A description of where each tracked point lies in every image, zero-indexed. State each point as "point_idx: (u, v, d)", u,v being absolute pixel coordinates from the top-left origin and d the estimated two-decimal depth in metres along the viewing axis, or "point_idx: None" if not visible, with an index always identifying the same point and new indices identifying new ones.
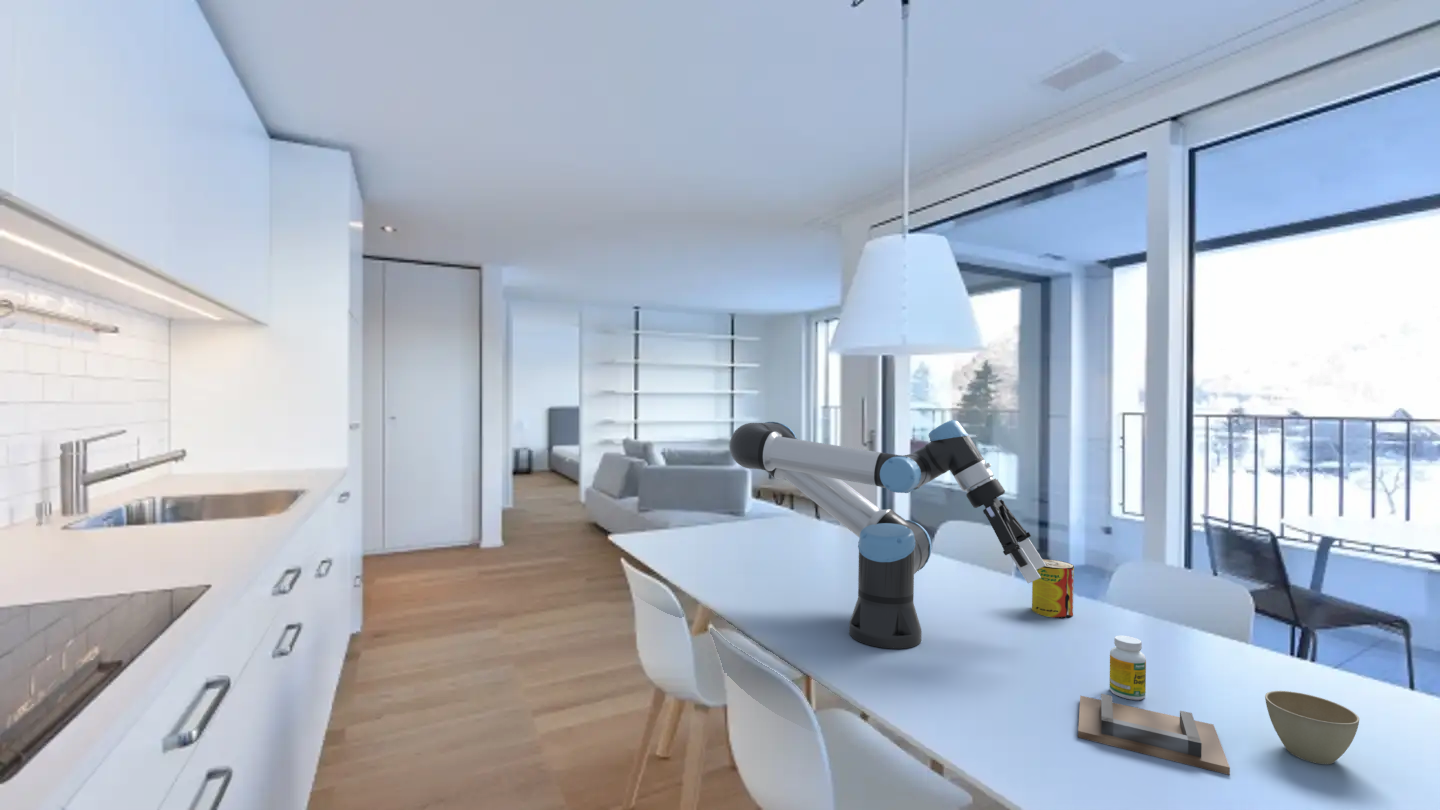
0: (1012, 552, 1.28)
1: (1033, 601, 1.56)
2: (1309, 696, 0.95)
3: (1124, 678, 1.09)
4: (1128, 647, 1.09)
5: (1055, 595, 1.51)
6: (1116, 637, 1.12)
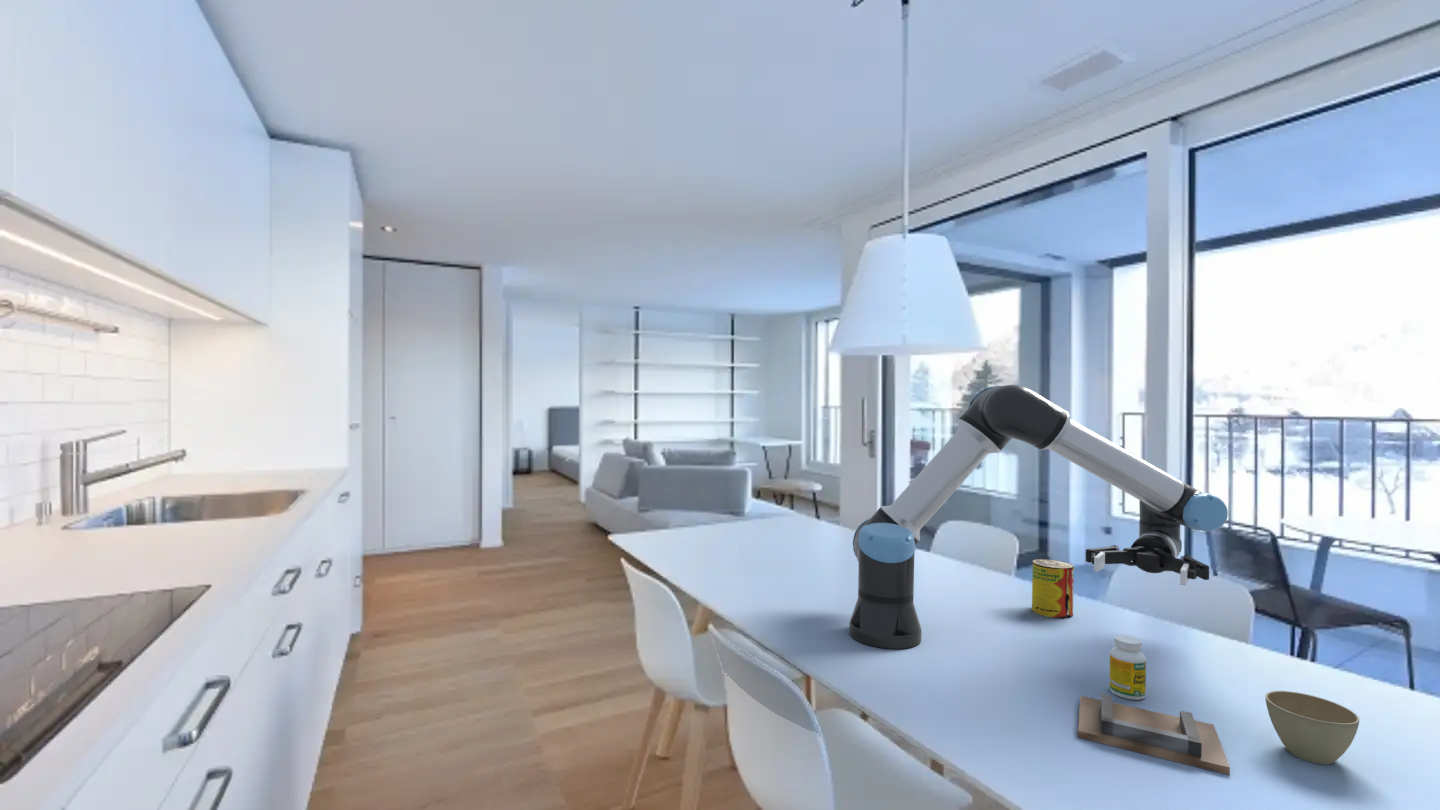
0: (1197, 570, 1.17)
1: (1033, 601, 1.56)
2: (1309, 696, 0.95)
3: (1123, 678, 1.09)
4: (1128, 647, 1.09)
5: (1055, 595, 1.51)
6: (1116, 637, 1.12)
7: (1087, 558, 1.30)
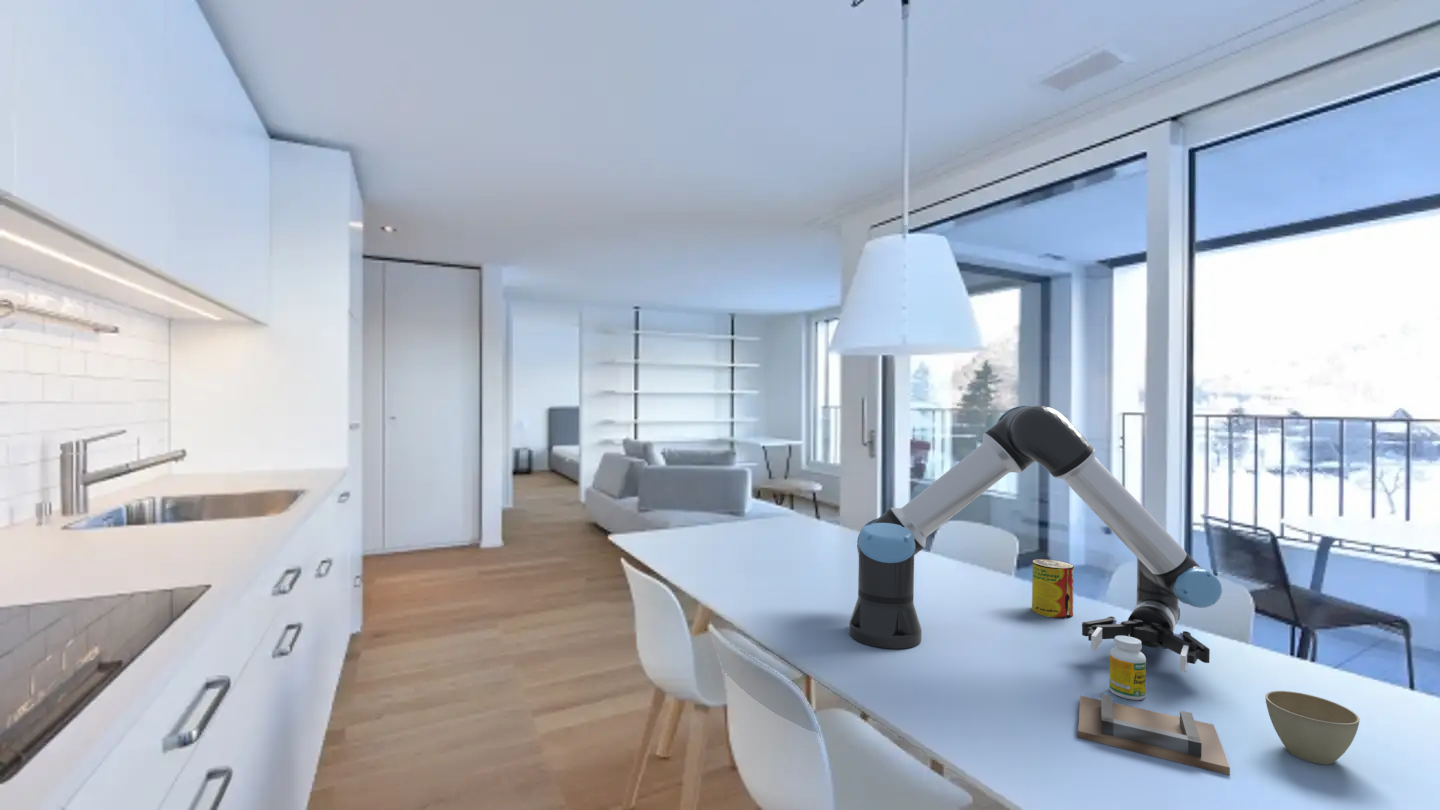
0: (1197, 653, 1.14)
1: (1033, 601, 1.56)
2: (1309, 696, 0.95)
3: (1124, 678, 1.09)
4: (1128, 647, 1.09)
5: (1055, 595, 1.51)
6: (1116, 637, 1.12)
7: (1084, 632, 1.26)
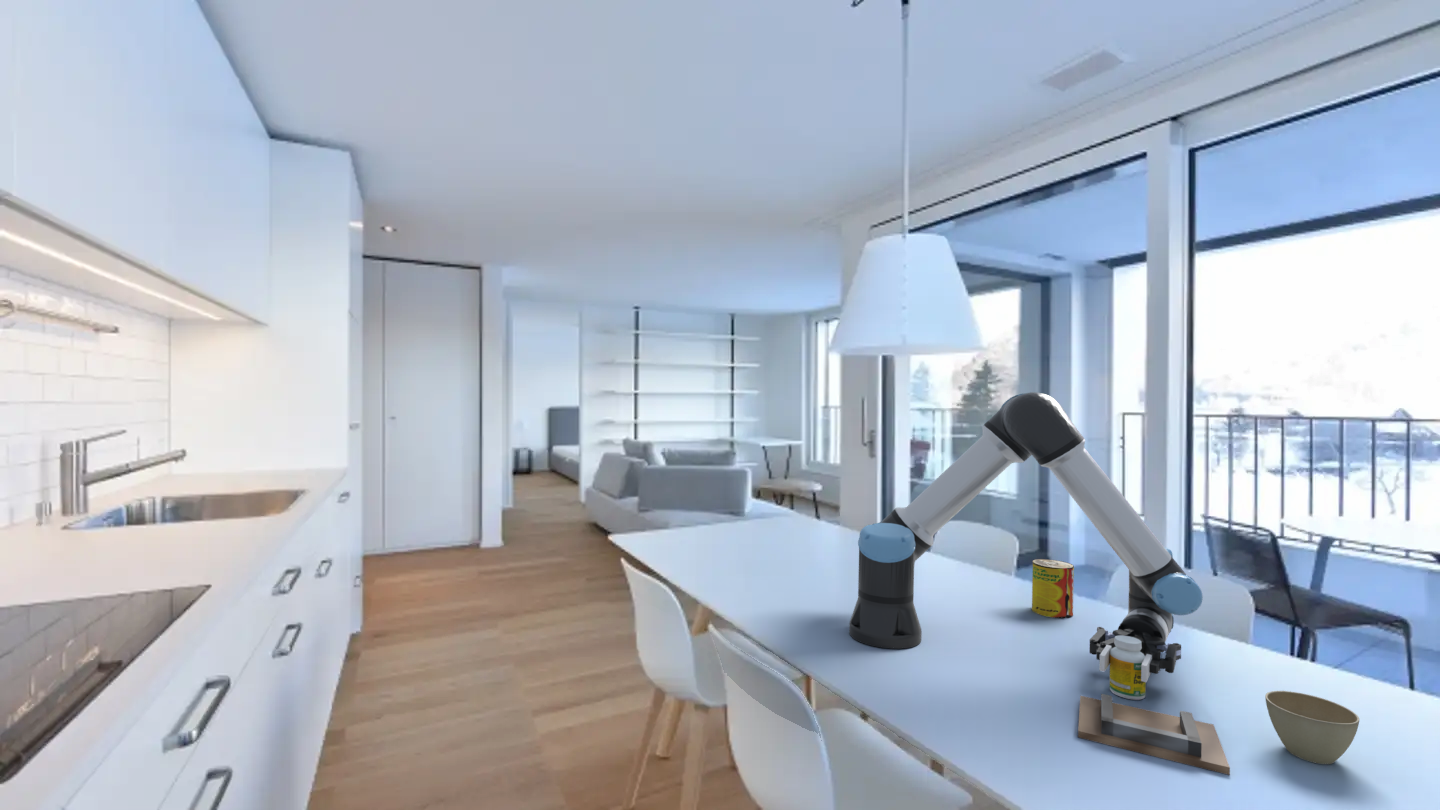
0: (1161, 662, 1.09)
1: (1033, 601, 1.56)
2: (1309, 696, 0.95)
3: (1123, 677, 1.09)
4: (1128, 647, 1.09)
5: (1055, 595, 1.51)
6: (1116, 637, 1.12)
7: (1091, 650, 1.16)
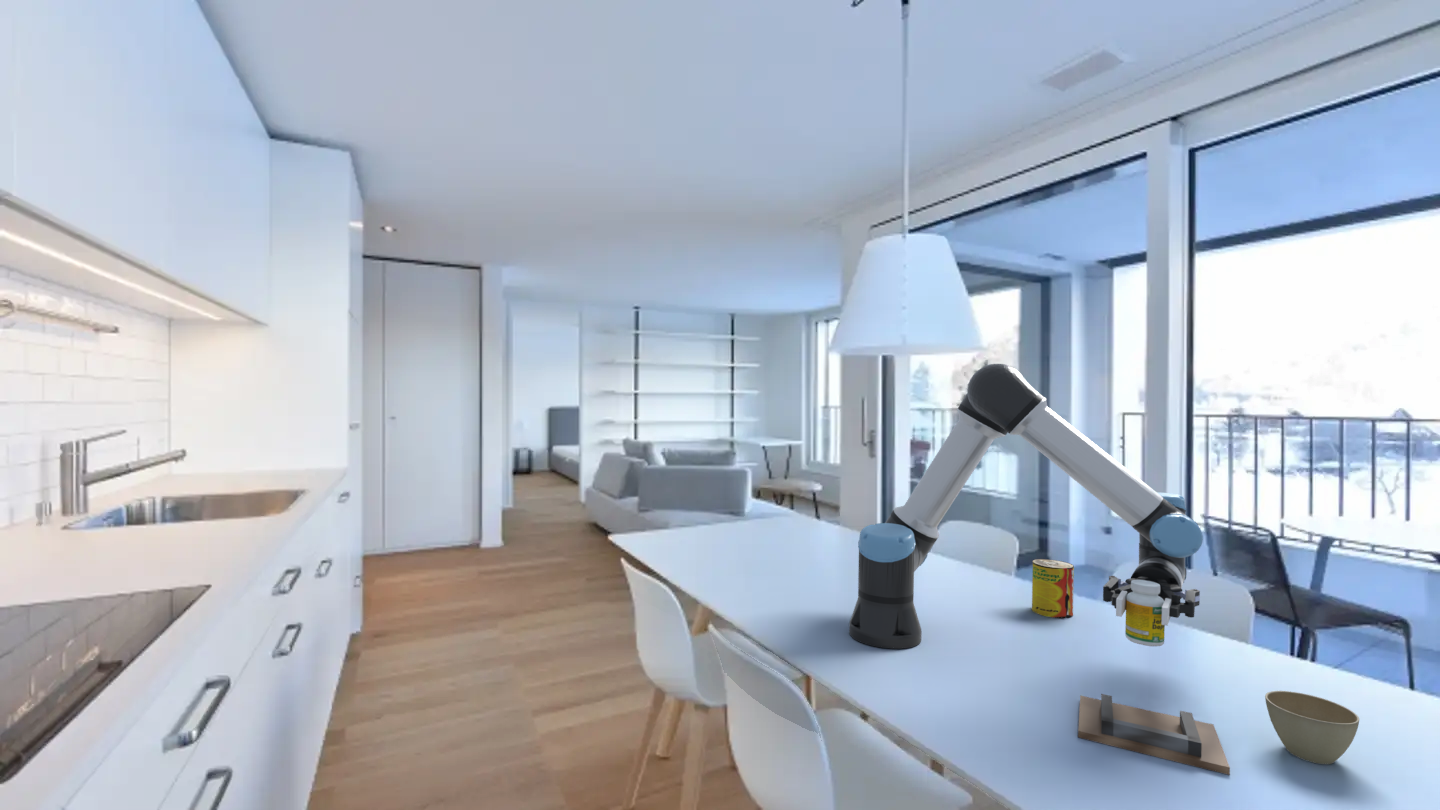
0: (1181, 606, 1.02)
1: (1033, 601, 1.56)
2: (1309, 696, 0.95)
3: (1141, 623, 1.02)
4: (1146, 591, 1.02)
5: (1055, 595, 1.51)
6: (1133, 581, 1.04)
7: (1105, 597, 1.09)
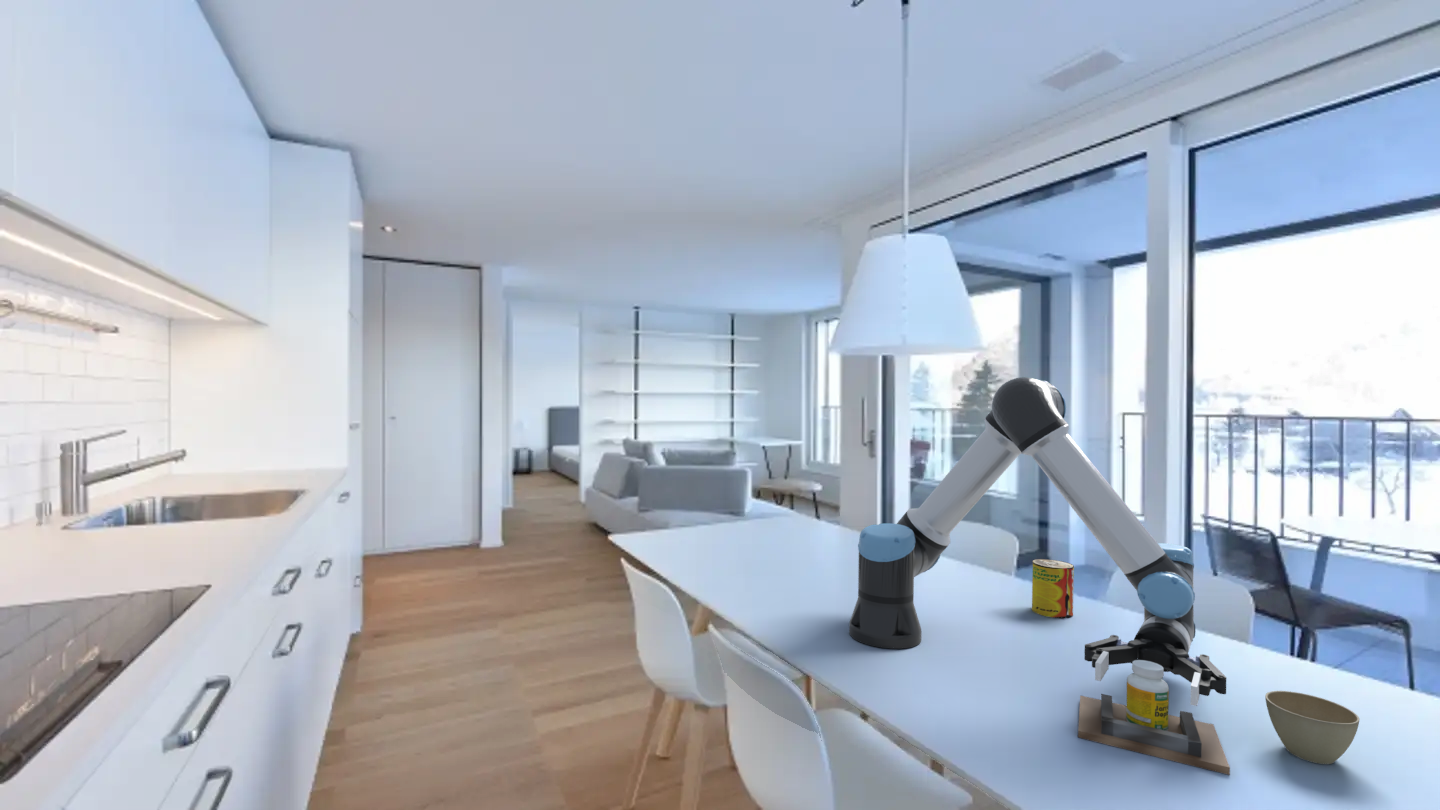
0: (1211, 682, 0.94)
1: (1033, 601, 1.56)
2: (1309, 696, 0.95)
3: (1143, 709, 0.95)
4: (1148, 674, 0.95)
5: (1055, 595, 1.51)
6: (1134, 662, 0.98)
7: (1086, 656, 1.05)
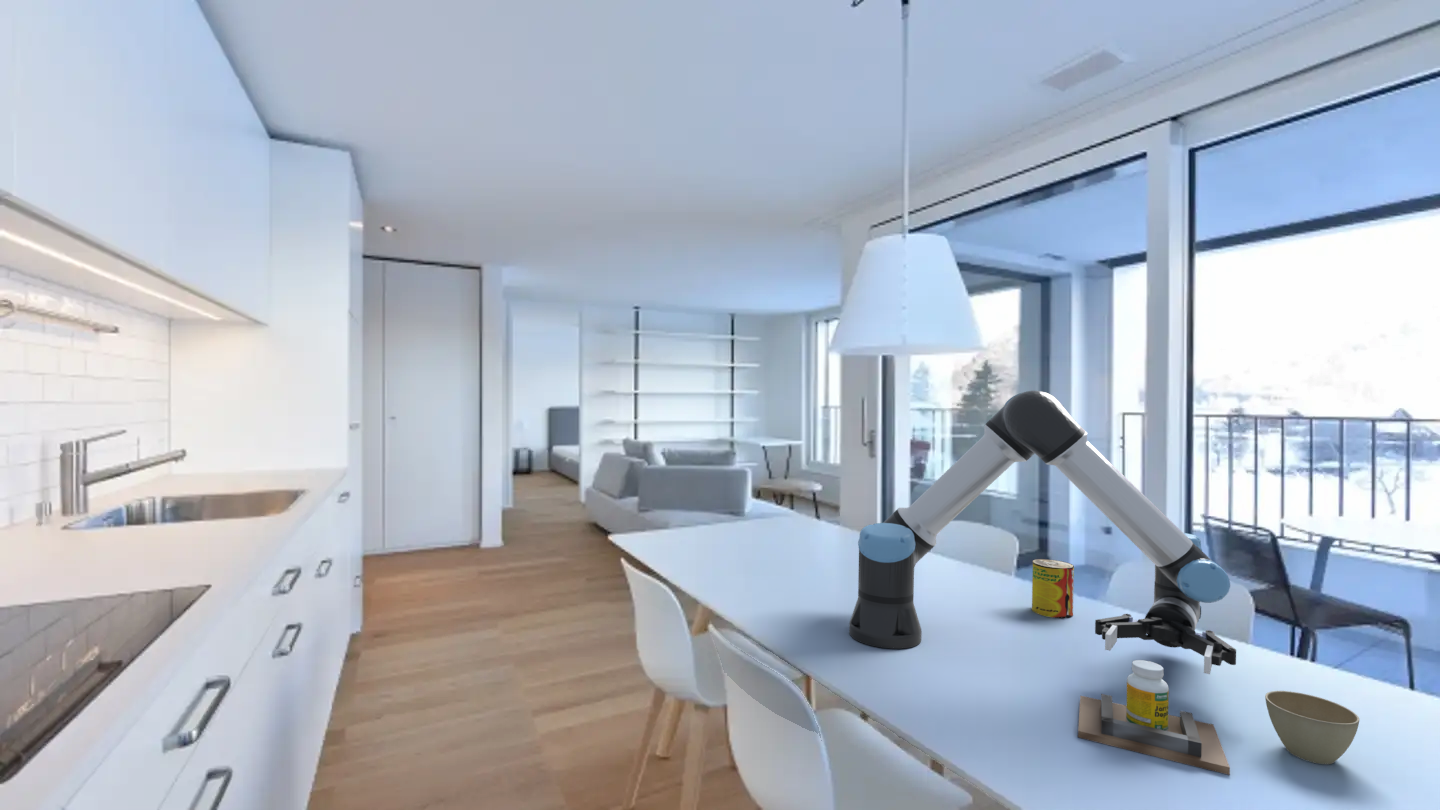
0: (1223, 654, 1.04)
1: (1033, 601, 1.56)
2: (1309, 696, 0.95)
3: (1143, 709, 0.95)
4: (1148, 675, 0.95)
5: (1055, 595, 1.51)
6: (1134, 662, 0.98)
7: (1097, 630, 1.16)
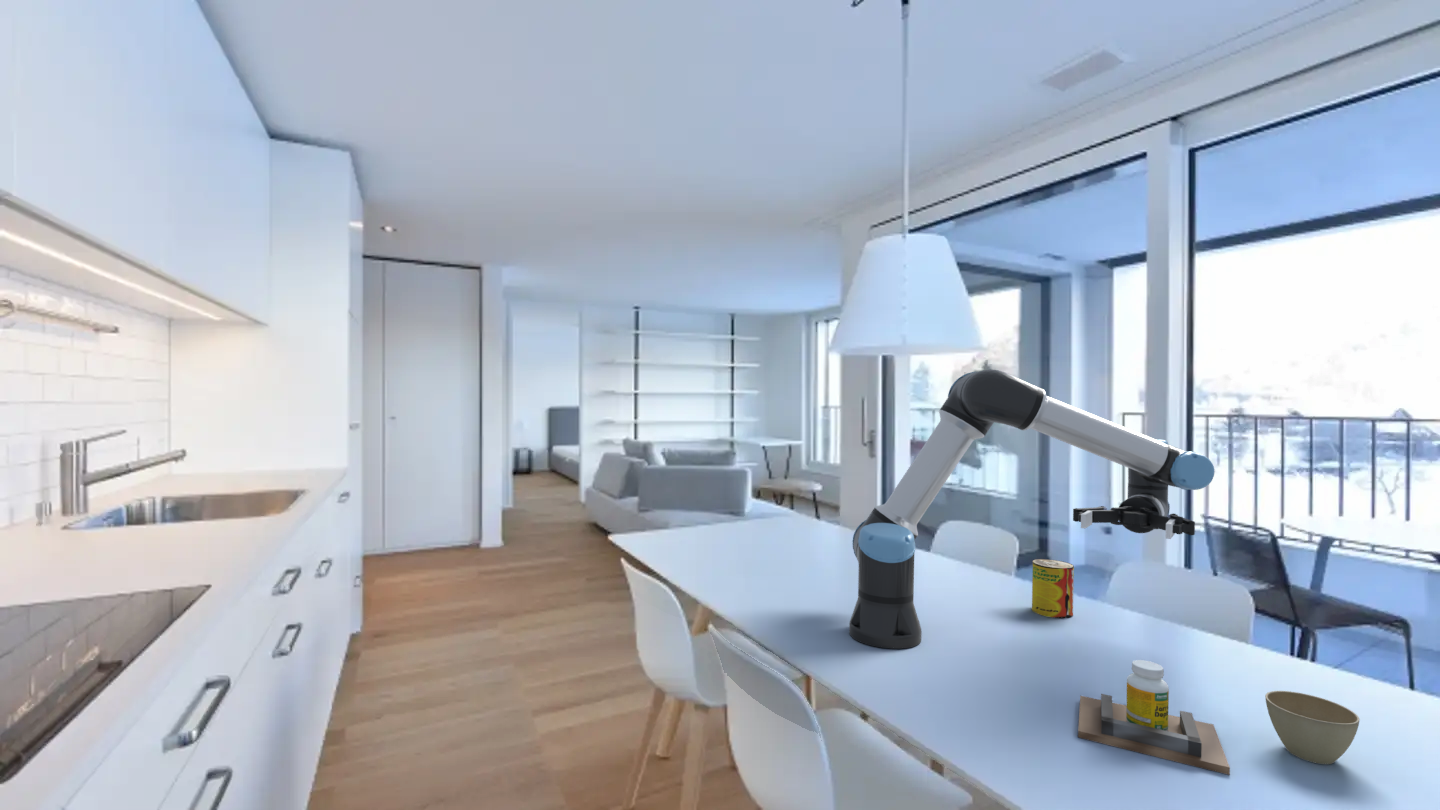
0: (1183, 525, 1.18)
1: (1033, 601, 1.56)
2: (1309, 696, 0.95)
3: (1143, 709, 0.95)
4: (1148, 675, 0.95)
5: (1055, 595, 1.51)
6: (1134, 662, 0.98)
7: (1074, 517, 1.30)
